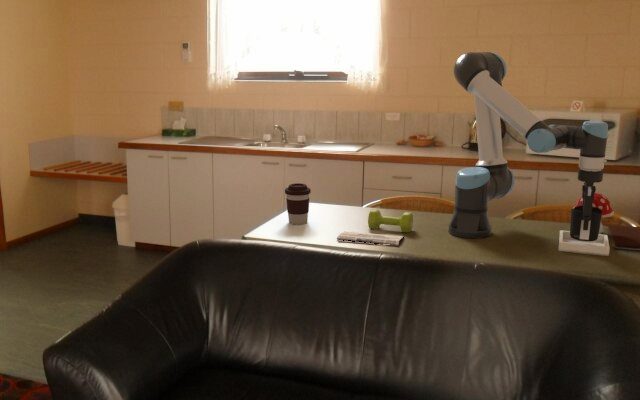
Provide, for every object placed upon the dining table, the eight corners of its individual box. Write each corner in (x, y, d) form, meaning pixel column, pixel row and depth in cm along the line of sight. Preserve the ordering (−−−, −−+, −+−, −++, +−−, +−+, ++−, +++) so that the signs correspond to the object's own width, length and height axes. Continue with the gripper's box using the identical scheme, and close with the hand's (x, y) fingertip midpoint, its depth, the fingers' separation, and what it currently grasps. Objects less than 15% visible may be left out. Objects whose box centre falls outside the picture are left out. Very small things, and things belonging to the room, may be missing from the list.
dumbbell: (366, 230, 218) (366, 211, 217) (372, 225, 226) (372, 206, 224) (409, 235, 212) (410, 216, 211) (414, 229, 220) (415, 210, 218)
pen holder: (563, 234, 201) (565, 206, 199) (589, 233, 202) (592, 205, 200) (577, 242, 192) (580, 213, 190) (604, 241, 193) (608, 212, 191)
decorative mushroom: (616, 239, 206) (621, 198, 202) (574, 237, 209) (578, 196, 205) (606, 228, 219) (610, 189, 216) (566, 226, 222) (570, 188, 218)
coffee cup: (315, 221, 230) (315, 184, 227) (301, 227, 222) (301, 188, 219) (295, 217, 236) (294, 181, 232) (280, 223, 227) (279, 185, 224)
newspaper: (335, 243, 205) (335, 236, 204) (345, 237, 216) (345, 230, 216) (399, 249, 197) (399, 242, 197) (406, 242, 209) (406, 235, 208)
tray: (558, 250, 194) (559, 242, 193) (559, 238, 207) (560, 230, 207) (608, 256, 188) (609, 247, 188) (606, 243, 202) (607, 234, 201)
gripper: (605, 175, 181) (597, 245, 186) (602, 164, 200) (594, 227, 205) (578, 174, 183) (571, 242, 189) (578, 162, 203) (571, 225, 208)
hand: (583, 235), depth 197 cm, fingers closed on pen holder, 9 cm apart
